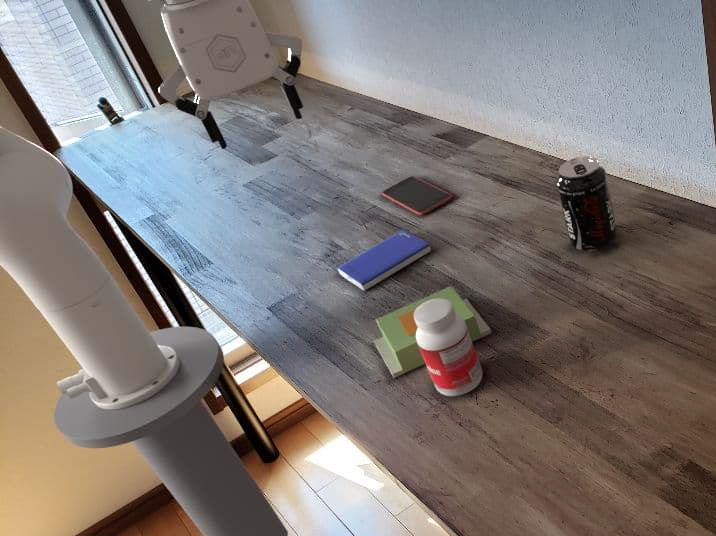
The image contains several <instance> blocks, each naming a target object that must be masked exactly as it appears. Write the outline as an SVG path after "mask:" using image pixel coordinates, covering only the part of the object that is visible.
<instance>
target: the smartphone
mask: <svg viewBox="0 0 716 536" xmlns="http://www.w3.org/2000/svg"><path fill="white" fill-rule="evenodd" d="M381 194H382V196H383V197H385V198H387V199H389V201H392V202H394V203H396V204H397V205H400V206H402V207H403V208H406V209H407V210H408V211H411V212H412V213H414V214H416V215H418V216H424V215H427V214H428V213H430V212H431V211H433V210H436V209H437V208H439V207H440V206H442V205H444V204H446V203H448V202H449V201H450V200H452V199H453V195H452V193H450V192H447V191H445V190H443V189H442V188H439V187H437V186H435V185H433V184H431V183H429V182H427V181H425V180H423V179H421V178H419V177H417V176H415V175H411V176H407V177H406V178H404V179H402V180H400V181H399V182H397V183H395V184H393V185H392V186H390V187H388V188H386V189H384V190H383V191H382V192H381Z"/></svg>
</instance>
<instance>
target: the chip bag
mask: <svg viewBox="0 0 716 536" xmlns="http://www.w3.org/2000/svg"><path fill="white" fill-rule="evenodd" d="M438 298H443V299H447V300H449V301H450V302H451V303H452V305H453V308H454V310H455V314H457V315H459V316H460V317H461V318H462V319H463V320H464V321H465V323H466V326H467V328H468V331H469V334H470V337H471V340H472V343H473V342H475V341H477V340H479V339H481V338H484V337H486V336H488V335H490V334H492V330H491V328H490V327H489V325H488V324H487V323H486V322H485V320H484V319H483V318H482V316H480V315H481V314H479V312H477V309H475V307H474V305H472V303H470V301H469V300H468V299H467V298H465V299H462V297H461V296H460V295H459V293H458V292H457V291H456V289H455V288H454V287H453V286H452V285H450V286H447V287H445V288H443V289H441V290H438V291H436V292H434V293H432V294H430V295H427V296H425V297H423V298H421V299H418V300H415V301H414V302H412V303H410V304H407V305H404V306H403V307H400V308H398V309H396V310H394V311H392V312H389V313H386V314H385V315H383V316H380V317H377V318H376V319H375V321H376V324H377V326H378V328H379V331H380V334H381V335H382V336H381V337H378V338H376V339H375V340H373V343H374V345H375V347H376V349H377V351H378V353H379V355H380V356H381V358H382V360H383V361H384V363H385V365H386V367H387V369H388V370H389V372H390V373H391V376H392V377H393V379H395V378H398V377H399V376H403V375H404V374H406V373H408V372H410V371H413V370H414V369H417V368H419V367H422V366H423V365H426V363H425V361H424V358H423V356H422V353H421V351H420V348H419V346H418V343H417V340H416V331H417V329H418V326H417V325H416V322H415V319H414V312H415V310H416V309H417V308H418V307H419V306H420V305H421V304H423V303H424V302H426V301H429V300H432V299H438Z"/></svg>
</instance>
